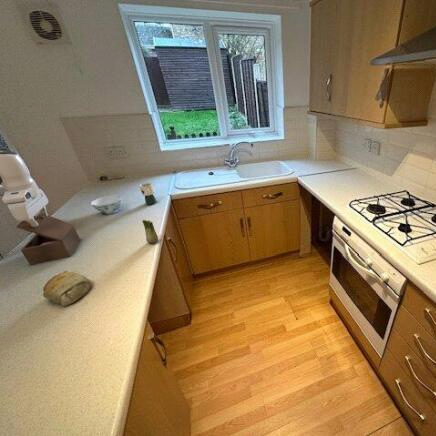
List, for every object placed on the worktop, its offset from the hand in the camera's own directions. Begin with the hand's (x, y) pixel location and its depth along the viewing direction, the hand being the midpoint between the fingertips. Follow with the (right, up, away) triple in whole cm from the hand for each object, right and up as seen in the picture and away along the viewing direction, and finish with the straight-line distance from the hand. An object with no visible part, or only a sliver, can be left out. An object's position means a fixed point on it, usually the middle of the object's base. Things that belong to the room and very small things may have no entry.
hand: (40, 221), depth 103 cm
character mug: (+16, +11, +55) cm, 58 cm away
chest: (0, -14, +7) cm, 16 cm away
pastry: (+28, -26, -16) cm, 42 cm away
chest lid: (+1, -2, +2) cm, 3 cm away
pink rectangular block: (-1, -14, +7) cm, 15 cm away
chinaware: (-3, +5, +44) cm, 45 cm away
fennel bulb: (+41, -11, +13) cm, 44 cm away
